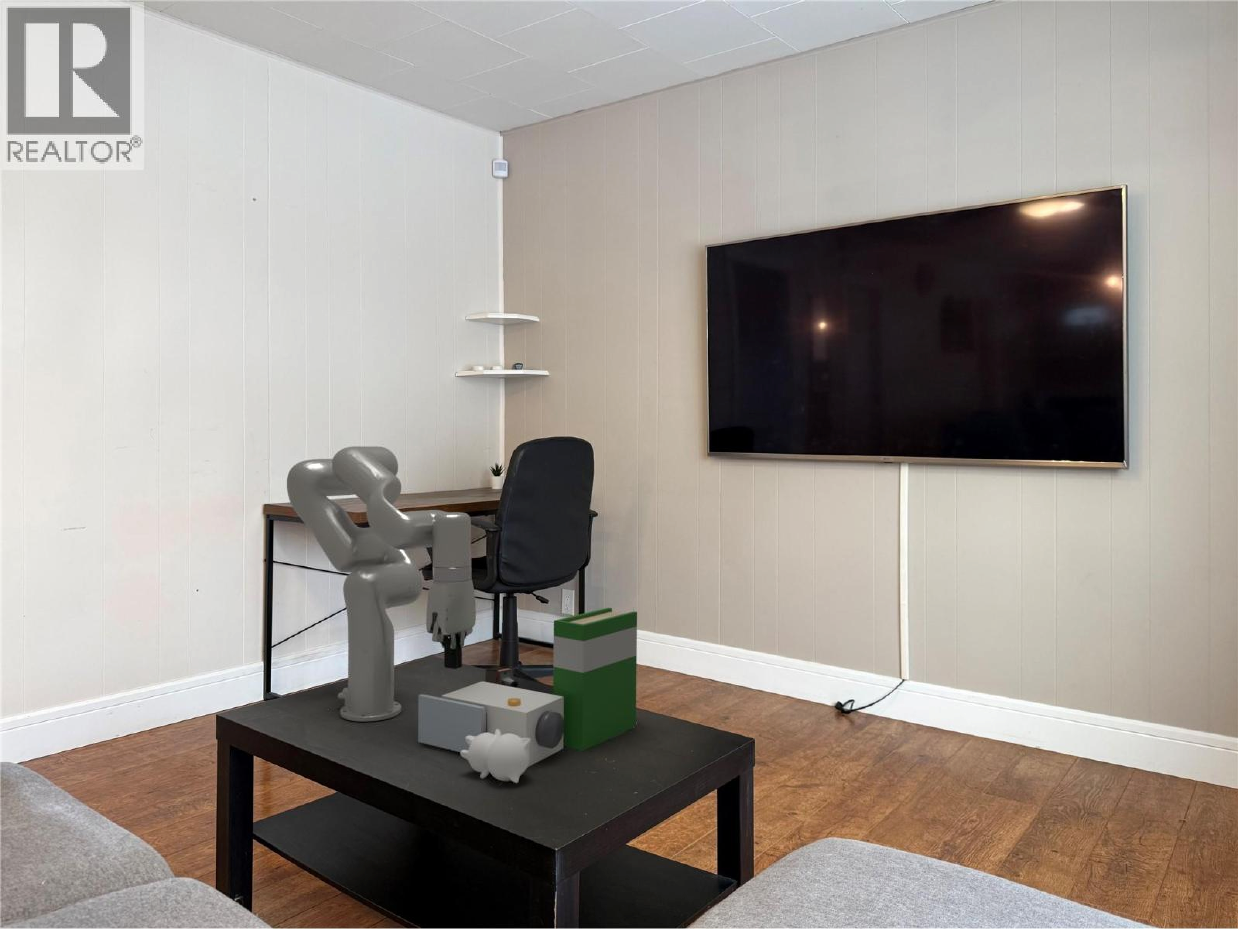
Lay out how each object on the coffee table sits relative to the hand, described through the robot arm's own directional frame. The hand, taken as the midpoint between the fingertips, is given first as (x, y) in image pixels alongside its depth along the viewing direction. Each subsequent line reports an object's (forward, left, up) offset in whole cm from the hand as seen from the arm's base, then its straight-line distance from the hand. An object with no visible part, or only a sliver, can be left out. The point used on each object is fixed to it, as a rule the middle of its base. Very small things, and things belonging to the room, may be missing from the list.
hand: (453, 667), depth 175 cm
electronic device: (-6, +24, -14) cm, 29 cm away
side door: (+6, -6, -13) cm, 16 cm away
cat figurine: (+21, -11, -14) cm, 27 cm away
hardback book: (+23, +16, -14) cm, 32 cm away
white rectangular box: (+12, 0, -14) cm, 19 cm away
